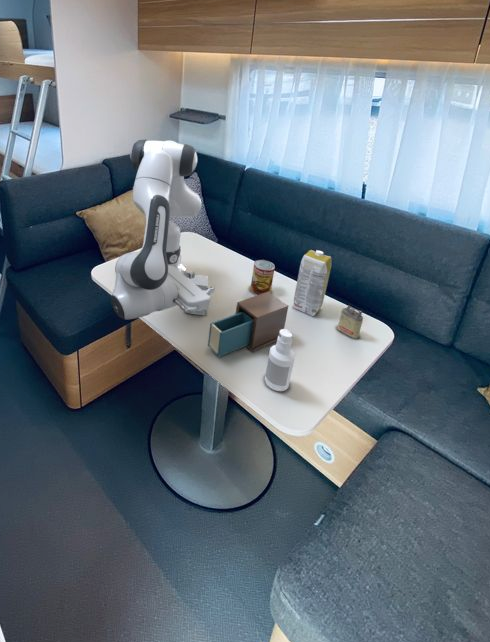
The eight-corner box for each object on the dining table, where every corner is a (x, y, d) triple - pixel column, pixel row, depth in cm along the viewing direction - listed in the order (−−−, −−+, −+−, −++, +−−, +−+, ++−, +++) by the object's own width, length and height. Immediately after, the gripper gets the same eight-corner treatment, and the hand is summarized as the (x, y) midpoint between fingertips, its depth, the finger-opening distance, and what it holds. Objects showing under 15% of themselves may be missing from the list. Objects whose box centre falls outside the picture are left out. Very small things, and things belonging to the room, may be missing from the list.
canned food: (249, 293, 164) (253, 267, 160) (251, 283, 171) (255, 258, 166) (269, 298, 161) (274, 271, 157) (271, 287, 168) (275, 262, 164)
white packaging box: (205, 316, 149) (208, 286, 145) (184, 313, 151) (187, 283, 146) (205, 304, 156) (208, 275, 152) (186, 301, 157) (188, 273, 153)
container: (207, 345, 133) (210, 323, 130) (240, 333, 139) (243, 311, 136) (218, 357, 128) (221, 333, 125) (252, 343, 135) (255, 320, 132)
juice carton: (322, 309, 155) (335, 253, 146) (314, 319, 149) (327, 261, 141) (298, 299, 161) (309, 245, 152) (290, 308, 155) (301, 252, 147)
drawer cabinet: (232, 333, 141) (236, 301, 136) (261, 321, 147) (267, 290, 143) (252, 351, 133) (258, 318, 128) (283, 338, 139) (289, 306, 134)
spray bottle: (261, 374, 124) (269, 325, 117) (282, 373, 124) (292, 324, 118) (269, 392, 117) (279, 341, 111) (292, 391, 118) (303, 340, 111)
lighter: (335, 329, 144) (341, 305, 141) (340, 325, 147) (346, 301, 143) (355, 340, 139) (361, 315, 136) (360, 335, 141) (367, 311, 138)
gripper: (186, 302, 109) (226, 290, 116) (148, 267, 126) (184, 257, 132) (184, 322, 112) (224, 308, 118) (147, 285, 128) (183, 274, 135)
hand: (203, 281), depth 125 cm, fingers open, 8 cm apart
